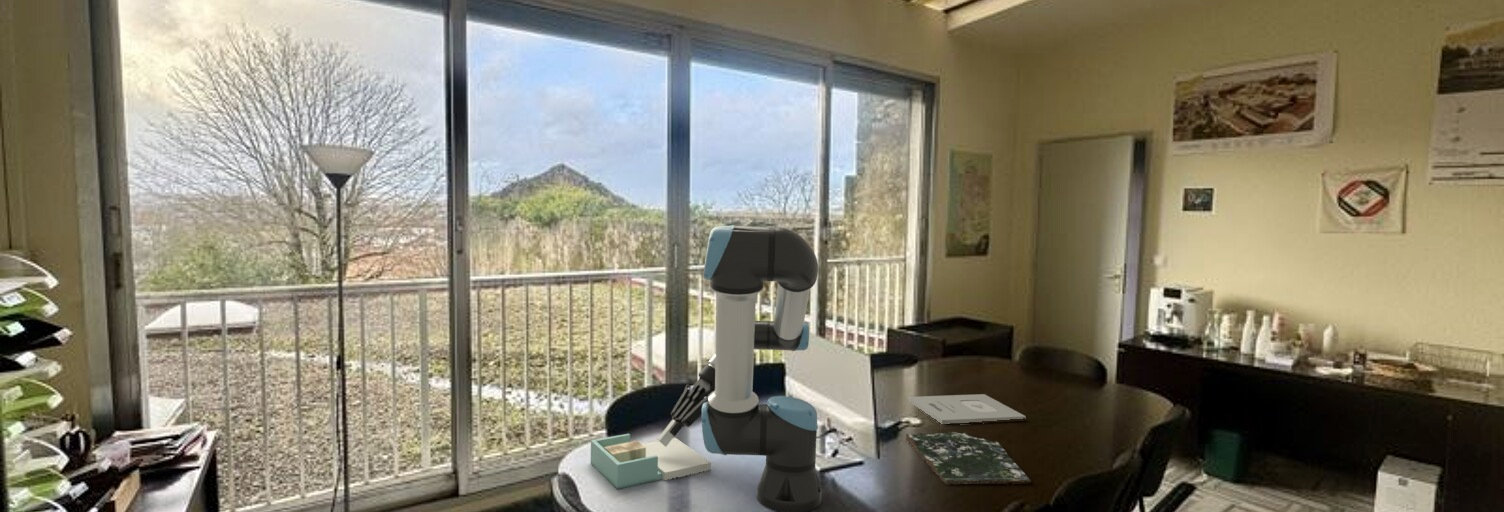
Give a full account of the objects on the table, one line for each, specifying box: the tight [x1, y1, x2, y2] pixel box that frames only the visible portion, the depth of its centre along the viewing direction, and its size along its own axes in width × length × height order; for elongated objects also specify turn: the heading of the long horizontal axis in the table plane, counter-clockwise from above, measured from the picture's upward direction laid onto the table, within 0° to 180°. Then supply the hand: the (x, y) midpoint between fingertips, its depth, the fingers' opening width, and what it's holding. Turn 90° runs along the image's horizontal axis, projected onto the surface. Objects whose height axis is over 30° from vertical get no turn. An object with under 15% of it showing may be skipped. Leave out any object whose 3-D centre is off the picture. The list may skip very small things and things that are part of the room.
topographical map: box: [905, 431, 1032, 486], centre depth 183 cm, size 26×33×3 cm
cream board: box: [641, 437, 712, 481], centre depth 175 cm, size 20×13×2 cm, turn 34°
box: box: [590, 433, 662, 490], centre depth 167 cm, size 18×12×6 cm, turn 34°
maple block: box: [604, 440, 646, 463], centre depth 168 cm, size 6×6×9 cm
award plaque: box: [907, 393, 1027, 425], centre depth 226 cm, size 25×30×2 cm
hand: (661, 443), depth 173 cm, fingers closed
